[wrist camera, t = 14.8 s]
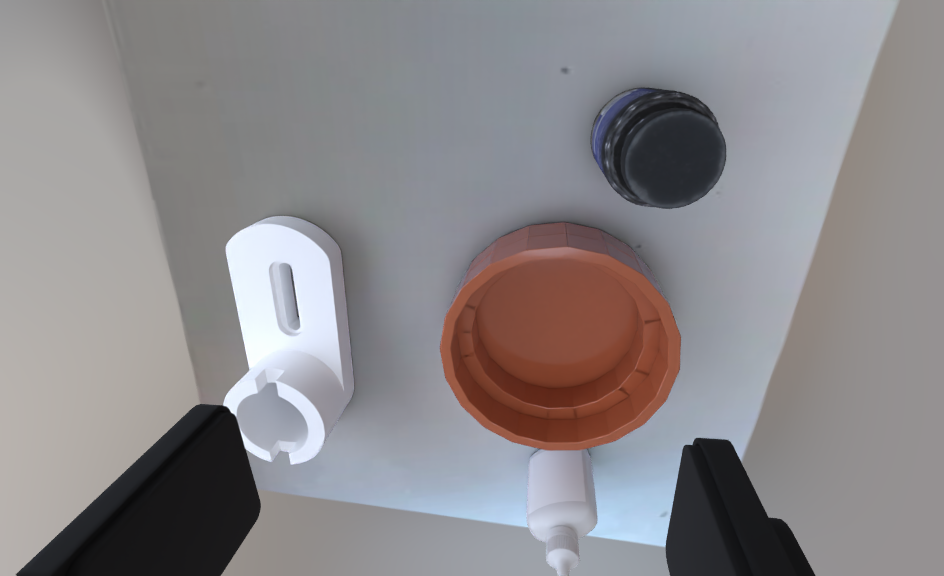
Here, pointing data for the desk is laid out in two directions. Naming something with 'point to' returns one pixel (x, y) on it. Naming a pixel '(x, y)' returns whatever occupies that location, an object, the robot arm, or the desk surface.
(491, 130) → the desk surface
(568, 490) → the eye dropper bottle
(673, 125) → the pill bottle
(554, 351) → the bowl
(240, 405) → the bracket
